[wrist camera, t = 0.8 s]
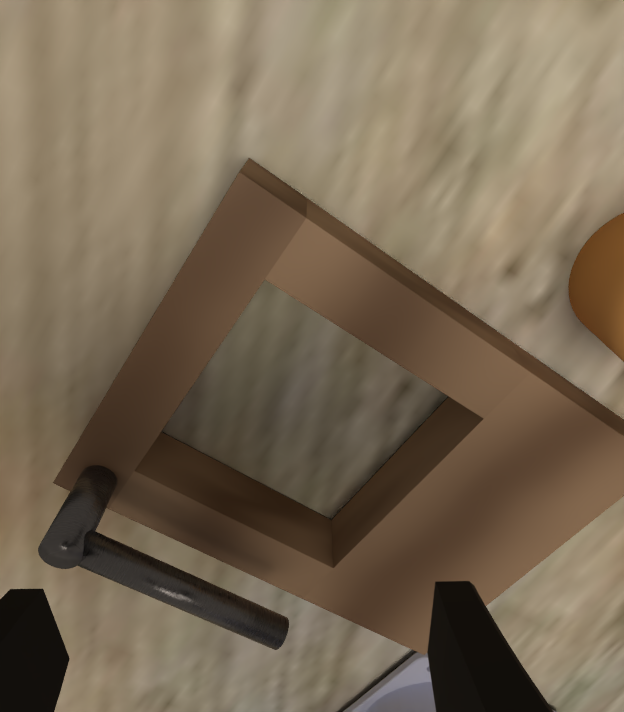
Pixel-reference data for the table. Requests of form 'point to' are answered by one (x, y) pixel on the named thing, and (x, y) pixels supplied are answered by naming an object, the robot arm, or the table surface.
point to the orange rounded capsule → (601, 285)
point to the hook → (146, 565)
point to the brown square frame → (401, 472)
